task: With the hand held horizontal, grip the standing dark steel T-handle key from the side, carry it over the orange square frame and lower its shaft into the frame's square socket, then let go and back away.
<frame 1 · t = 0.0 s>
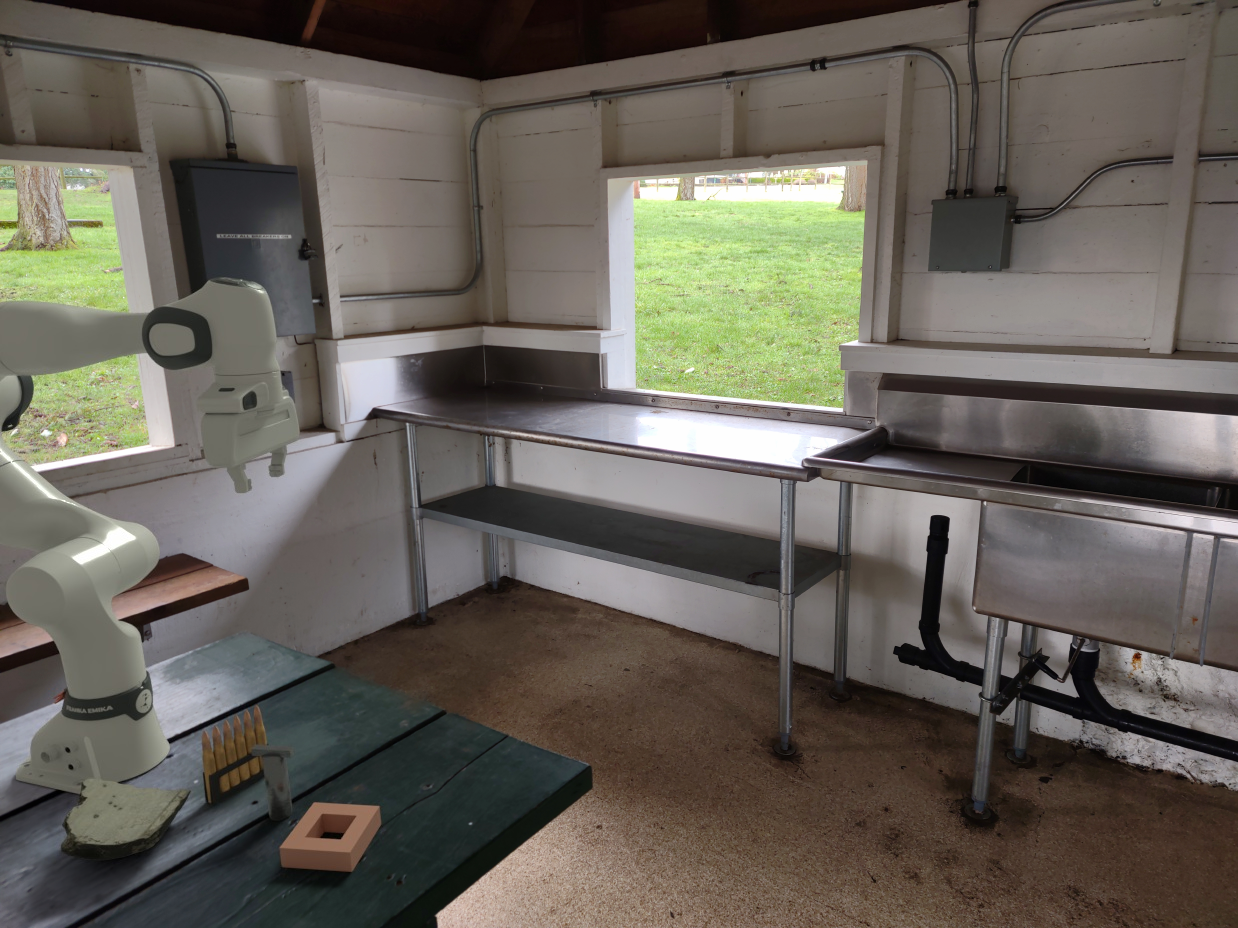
hand: (261, 483, 127), 48 cm above the table, fingers open, 8 cm apart
ammunition clip: (240, 787, 133), on the table
orange square frame: (333, 844, 119), on the table
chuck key: (281, 813, 126), on the table
concrete fragment: (122, 847, 120), on the table
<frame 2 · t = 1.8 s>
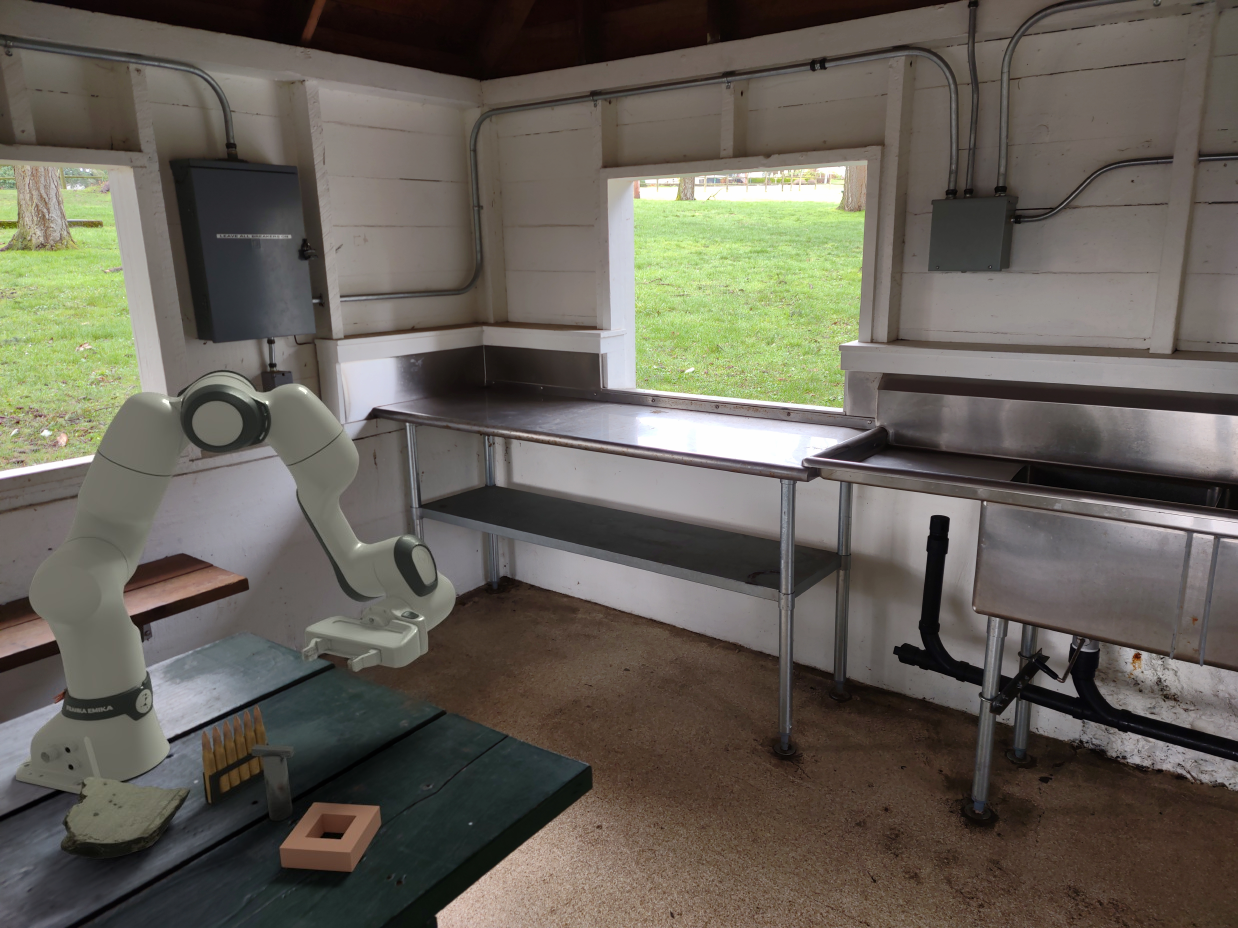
hand: (327, 661, 133), 19 cm above the table, fingers open, 8 cm apart
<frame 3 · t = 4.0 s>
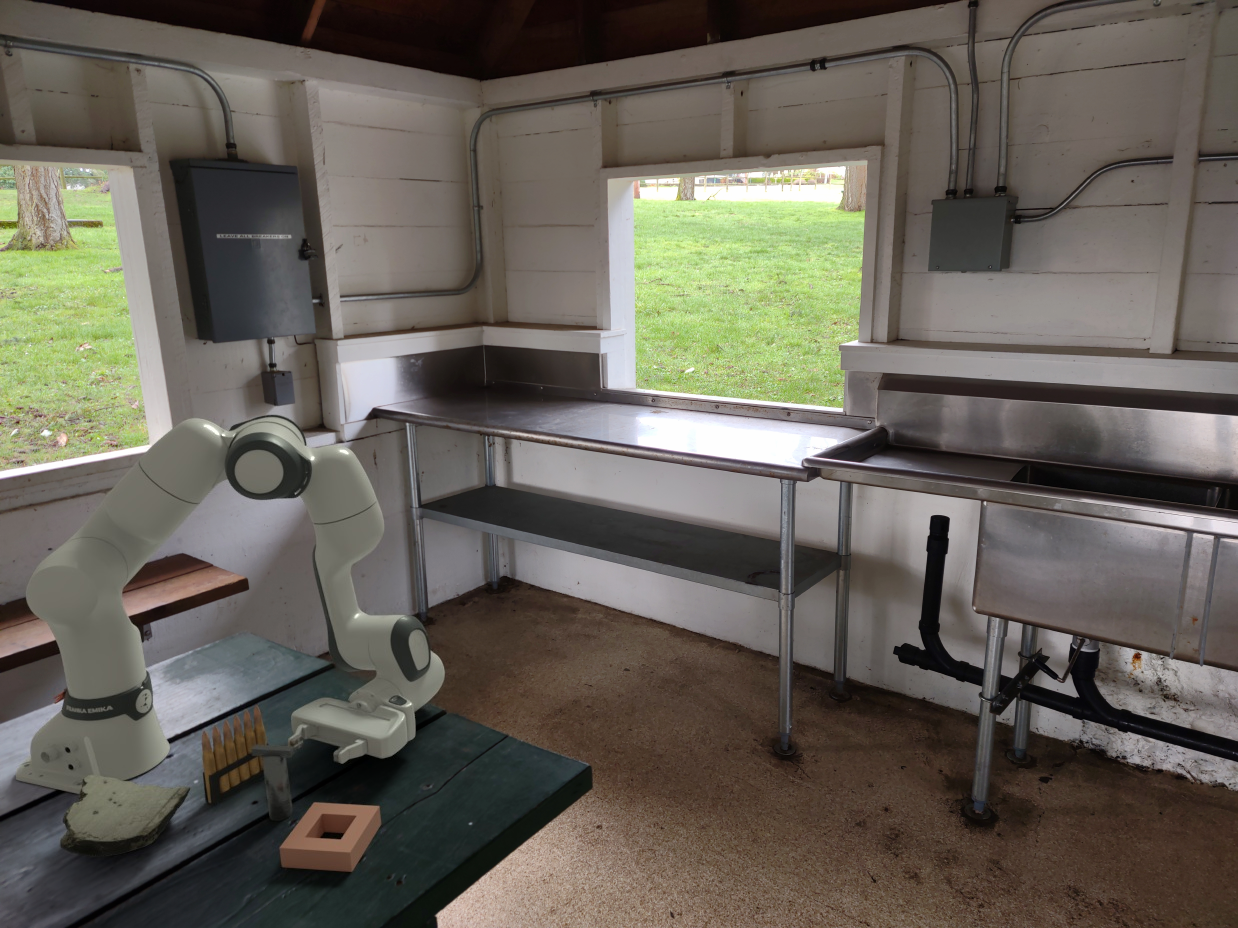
hand: (313, 751, 132), 6 cm above the table, fingers open, 8 cm apart
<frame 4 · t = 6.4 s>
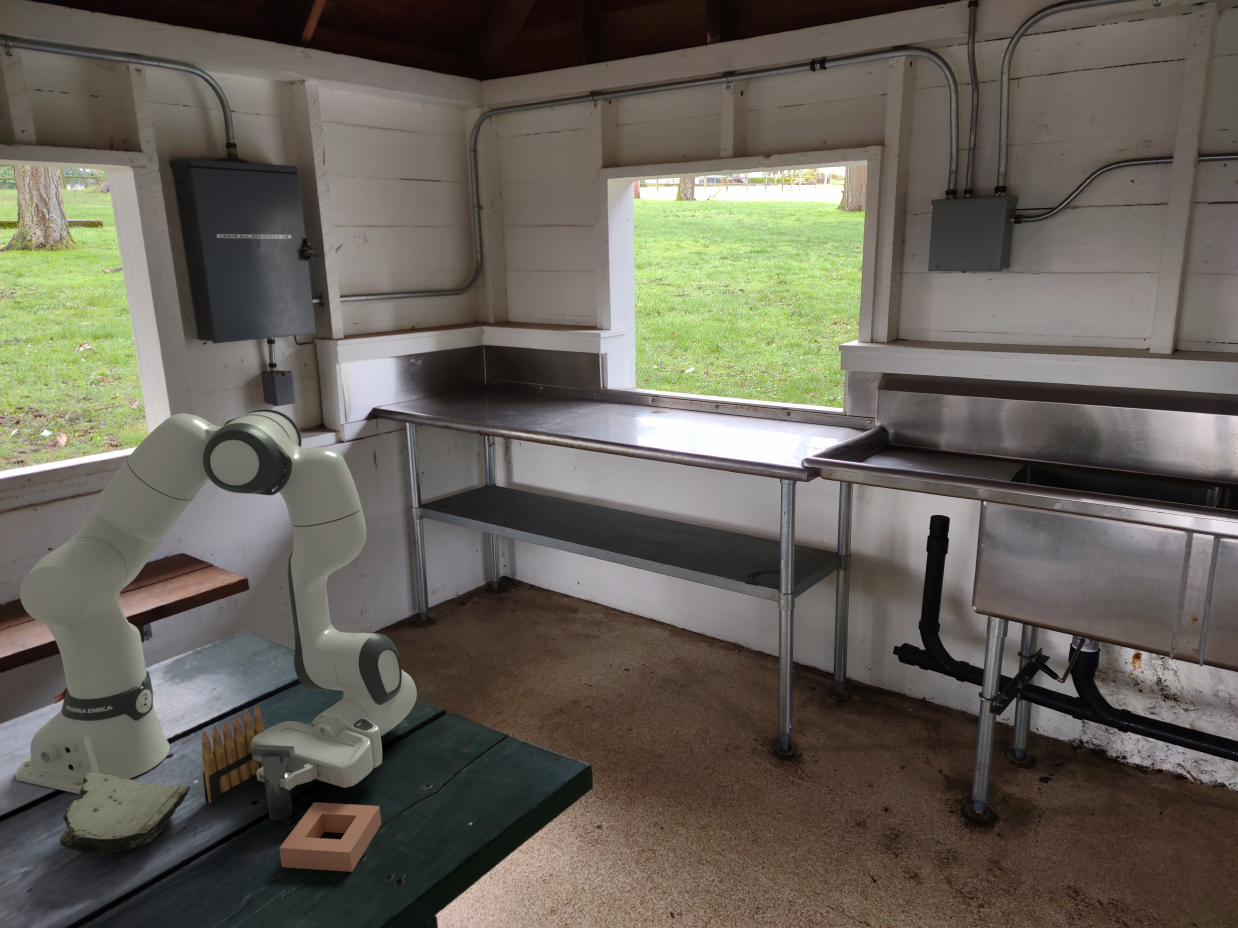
hand: (271, 780, 124), 6 cm above the table, fingers closed on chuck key, 3 cm apart
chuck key: (281, 813, 126), on the table, touching gripper
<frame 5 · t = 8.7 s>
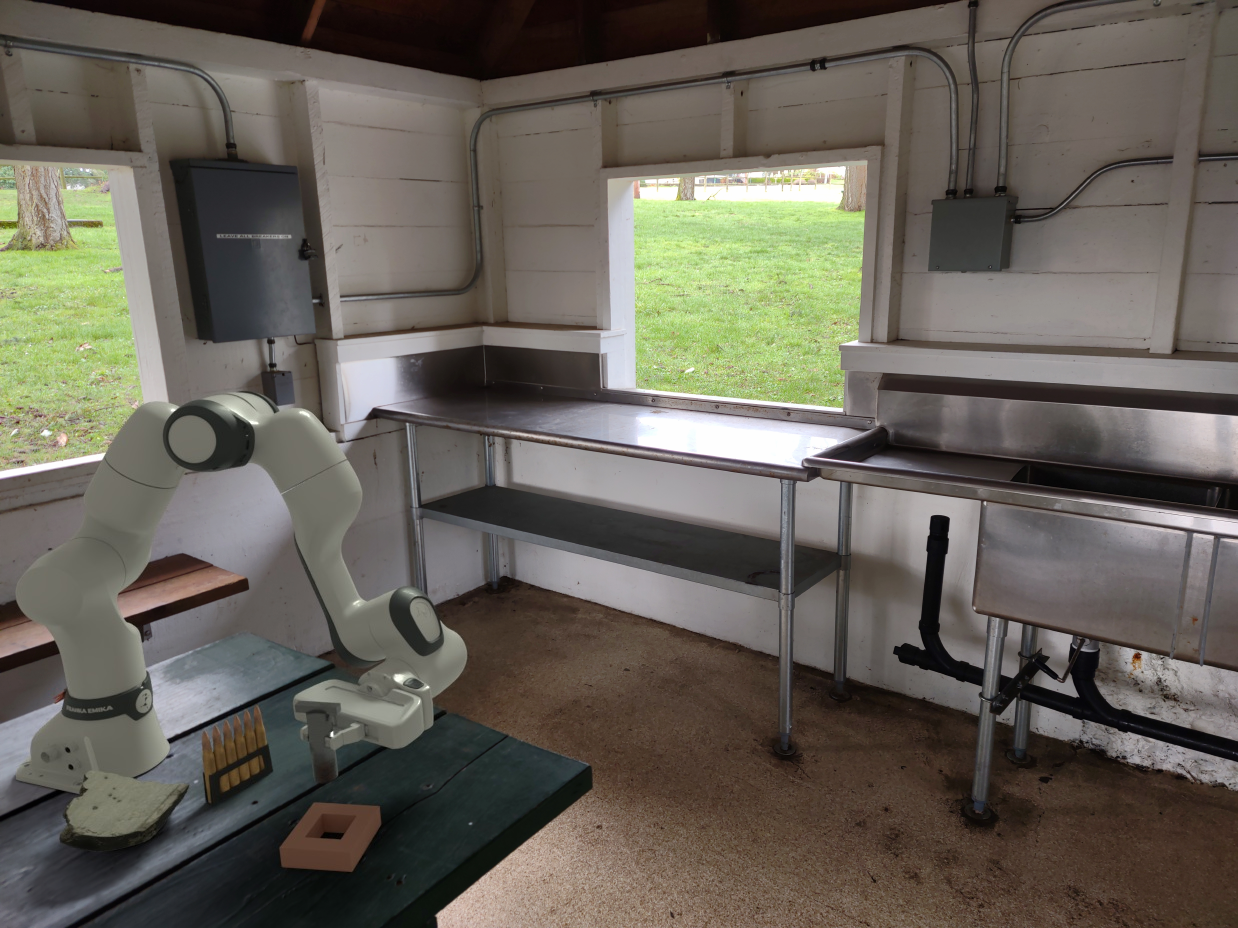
hand: (316, 740, 115), 17 cm above the table, fingers closed on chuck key, 3 cm apart
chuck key: (326, 776, 117), point 11 cm above the table, touching gripper
when the fingers open (7 cm above the table, at t = 11.0 s): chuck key drops 1 cm, resting in orange square frame.
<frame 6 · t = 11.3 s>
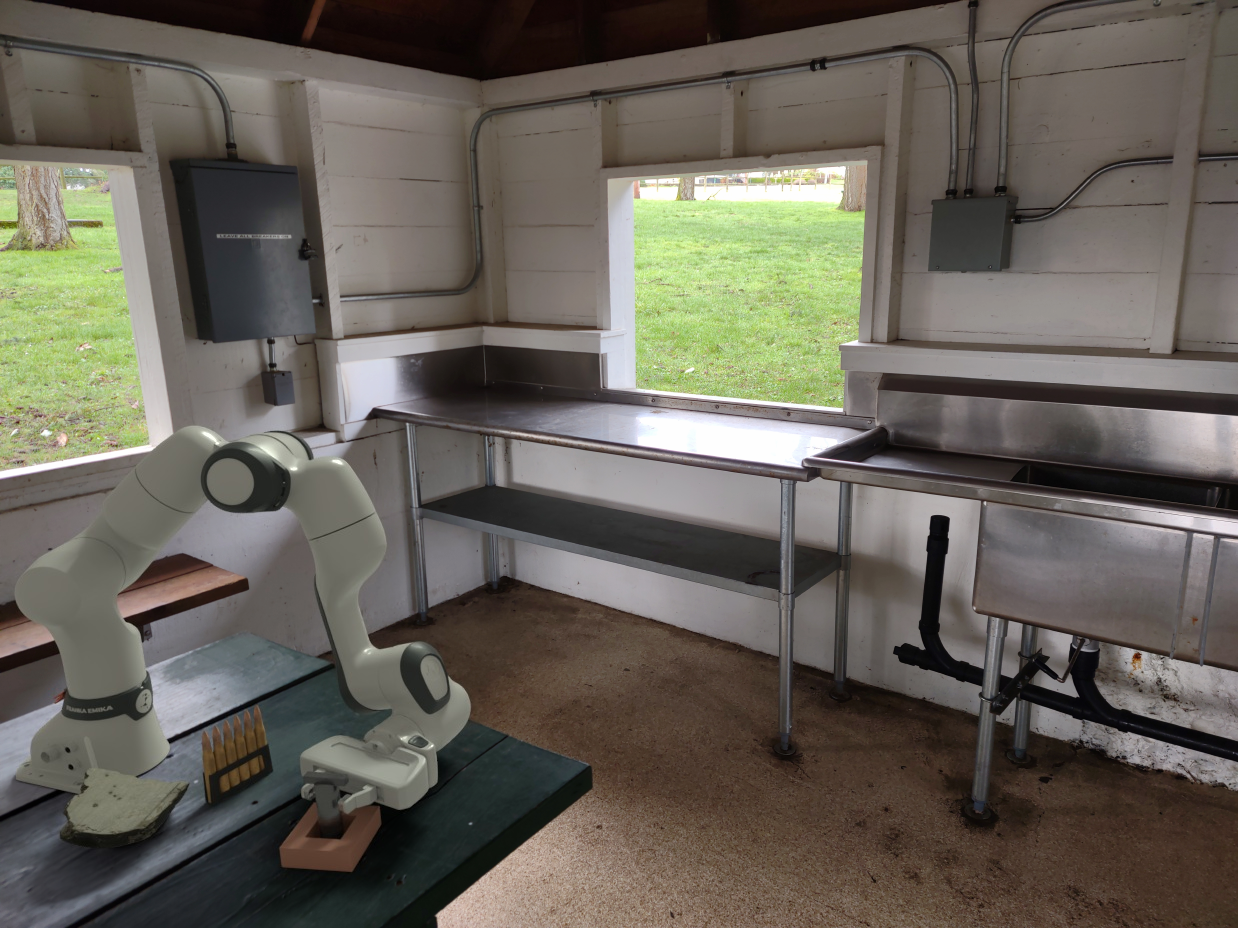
hand: (323, 801, 117), 7 cm above the table, fingers open, 5 cm apart
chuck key: (333, 844, 119), resting in orange square frame
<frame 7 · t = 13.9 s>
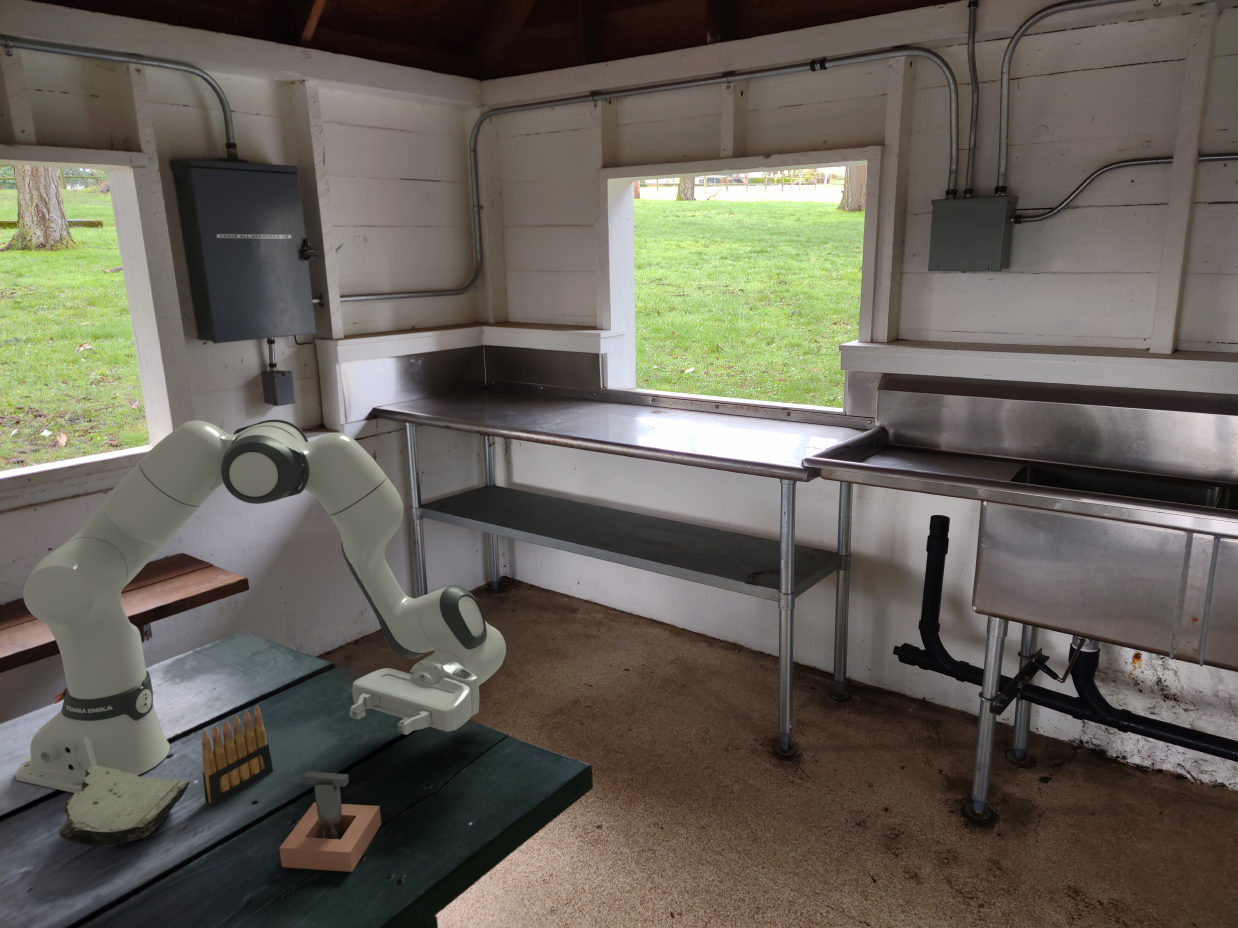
hand: (376, 721, 127), 13 cm above the table, fingers open, 8 cm apart
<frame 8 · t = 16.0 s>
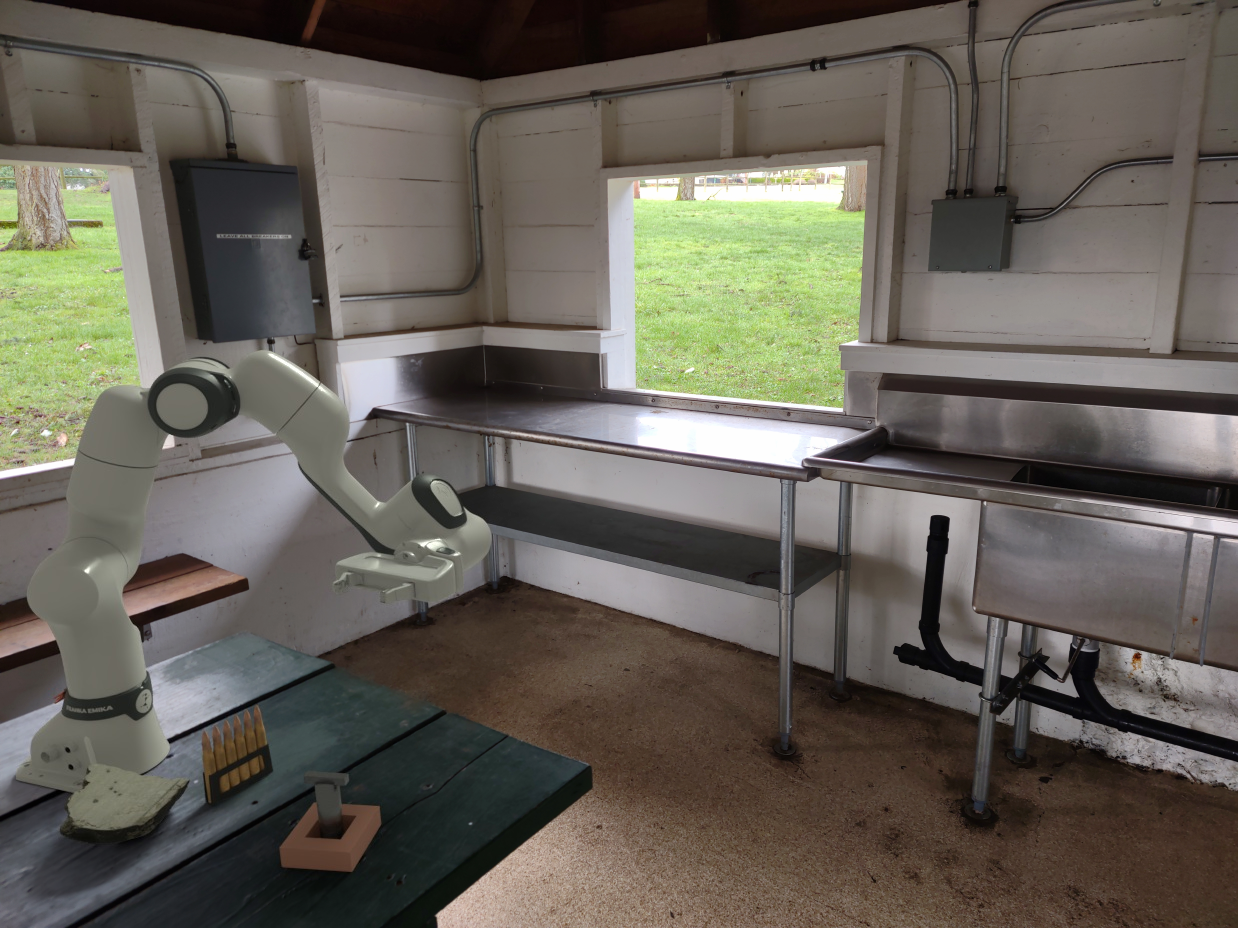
hand: (359, 593, 126), 32 cm above the table, fingers open, 8 cm apart
at the end: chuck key 0.1 cm off-centre on the orange square frame, point 0.0 cm above the orange square frame's base; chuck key tilted 1°; the gripper is holding nothing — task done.
